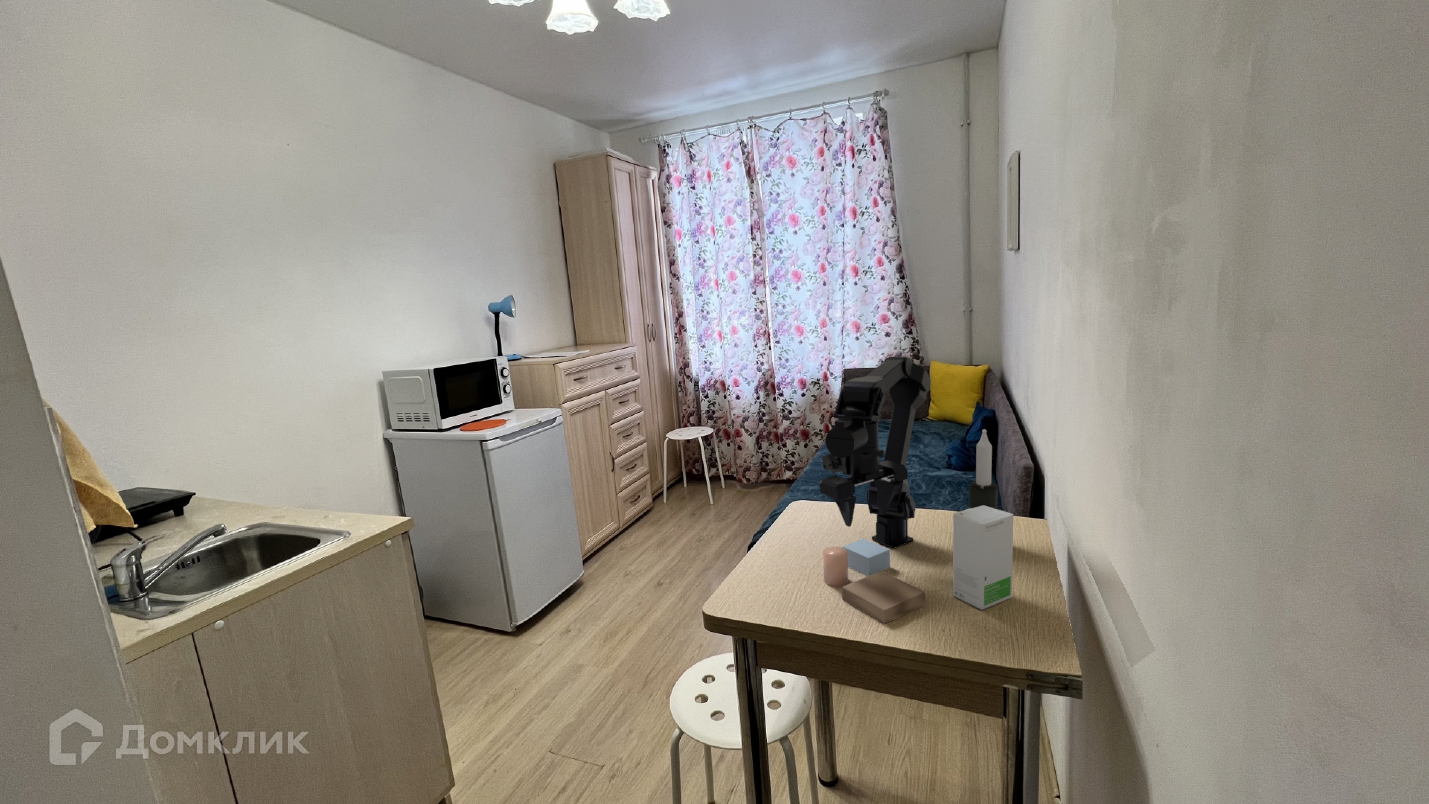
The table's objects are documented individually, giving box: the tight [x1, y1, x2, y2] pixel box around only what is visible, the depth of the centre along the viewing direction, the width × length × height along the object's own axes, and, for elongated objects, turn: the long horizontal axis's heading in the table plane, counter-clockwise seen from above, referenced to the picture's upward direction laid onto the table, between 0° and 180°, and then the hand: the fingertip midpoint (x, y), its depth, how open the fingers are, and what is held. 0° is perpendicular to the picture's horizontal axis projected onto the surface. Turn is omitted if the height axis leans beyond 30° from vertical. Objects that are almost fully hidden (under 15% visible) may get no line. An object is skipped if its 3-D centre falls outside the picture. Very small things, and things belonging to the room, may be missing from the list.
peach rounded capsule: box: [822, 546, 849, 588], centre depth 113 cm, size 5×5×6 cm
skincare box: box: [952, 505, 1015, 610], centre depth 103 cm, size 8×7×16 cm
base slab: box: [841, 570, 926, 625], centre depth 104 cm, size 10×10×2 cm
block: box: [842, 538, 891, 577], centre depth 118 cm, size 6×7×4 cm
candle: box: [968, 429, 999, 509], centre depth 122 cm, size 5×5×25 cm
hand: (865, 520), depth 117 cm, fingers open, 9 cm apart
